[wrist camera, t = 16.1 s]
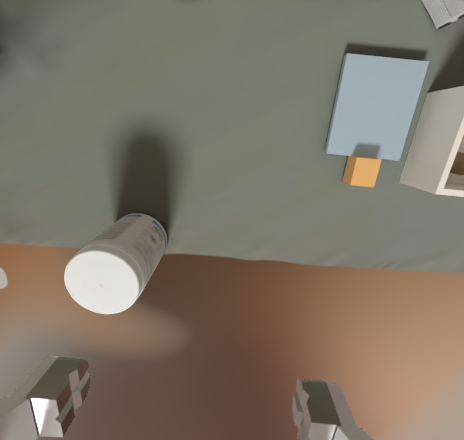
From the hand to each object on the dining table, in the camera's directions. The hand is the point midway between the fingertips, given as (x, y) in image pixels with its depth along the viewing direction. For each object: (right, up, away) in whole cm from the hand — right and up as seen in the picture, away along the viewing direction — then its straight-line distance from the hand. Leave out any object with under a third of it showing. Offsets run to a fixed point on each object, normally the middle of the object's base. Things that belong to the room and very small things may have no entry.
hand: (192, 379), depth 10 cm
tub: (+34, +18, +29) cm, 48 cm away
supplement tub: (-14, +3, +35) cm, 38 cm away
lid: (+22, +21, +29) cm, 41 cm away
